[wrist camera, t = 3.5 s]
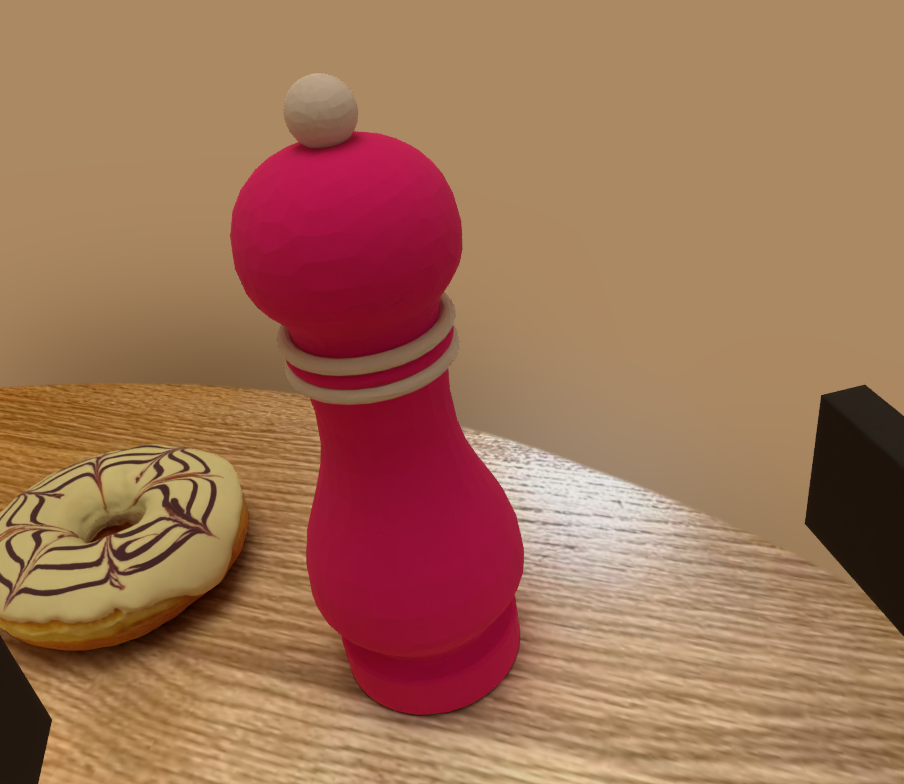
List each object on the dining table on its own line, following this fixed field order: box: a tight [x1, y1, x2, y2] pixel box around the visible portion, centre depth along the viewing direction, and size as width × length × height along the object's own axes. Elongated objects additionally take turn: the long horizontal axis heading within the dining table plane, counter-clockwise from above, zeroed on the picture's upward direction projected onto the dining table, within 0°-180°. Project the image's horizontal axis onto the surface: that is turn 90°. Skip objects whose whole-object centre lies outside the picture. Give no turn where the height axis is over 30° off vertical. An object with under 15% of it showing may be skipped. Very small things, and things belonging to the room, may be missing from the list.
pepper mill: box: [230, 73, 524, 715], centre depth 25 cm, size 7×7×20 cm
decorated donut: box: [0, 444, 249, 651], centre depth 35 cm, size 10×11×4 cm
